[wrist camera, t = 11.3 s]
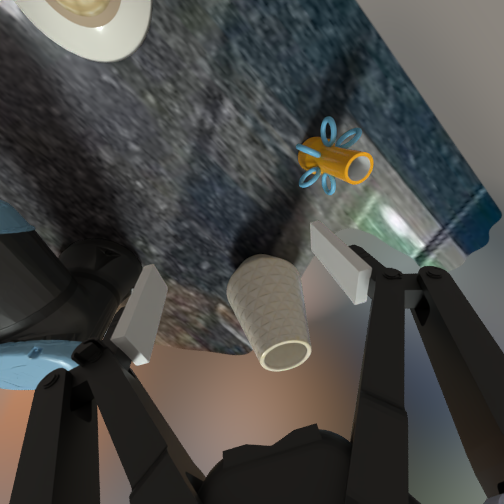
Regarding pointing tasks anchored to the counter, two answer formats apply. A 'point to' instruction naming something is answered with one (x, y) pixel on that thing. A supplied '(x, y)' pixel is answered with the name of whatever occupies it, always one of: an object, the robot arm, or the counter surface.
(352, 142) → the cylinder
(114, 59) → the hub plate
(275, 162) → the counter surface
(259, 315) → the vase
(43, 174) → the counter surface
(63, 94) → the counter surface
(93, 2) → the hand bell
